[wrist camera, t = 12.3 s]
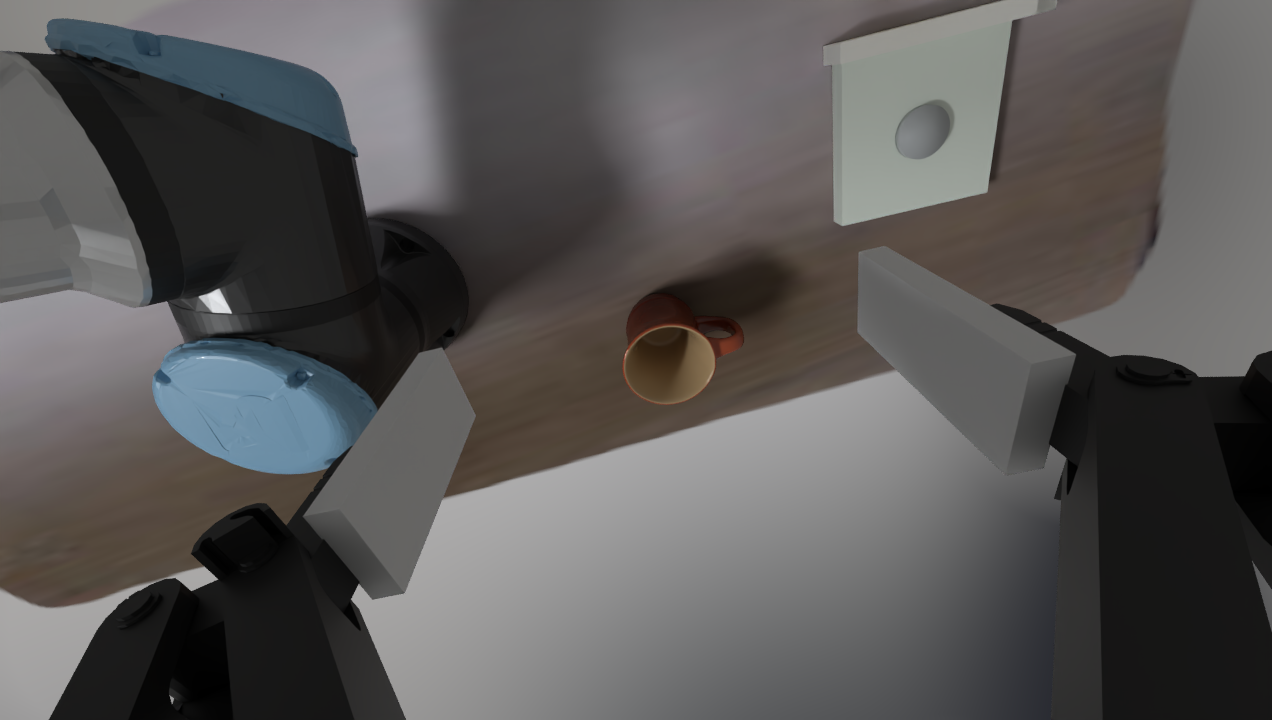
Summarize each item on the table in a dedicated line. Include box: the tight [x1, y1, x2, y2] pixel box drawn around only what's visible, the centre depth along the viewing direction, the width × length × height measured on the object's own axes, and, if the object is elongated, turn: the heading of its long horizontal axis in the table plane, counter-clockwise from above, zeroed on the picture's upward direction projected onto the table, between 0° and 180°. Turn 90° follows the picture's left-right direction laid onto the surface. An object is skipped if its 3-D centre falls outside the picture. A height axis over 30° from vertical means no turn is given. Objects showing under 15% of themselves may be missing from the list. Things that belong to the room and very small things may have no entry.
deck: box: [823, 0, 1057, 226], centre depth 39 cm, size 17×29×4 cm, turn 13°
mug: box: [623, 293, 744, 405], centre depth 48 cm, size 12×9×10 cm
